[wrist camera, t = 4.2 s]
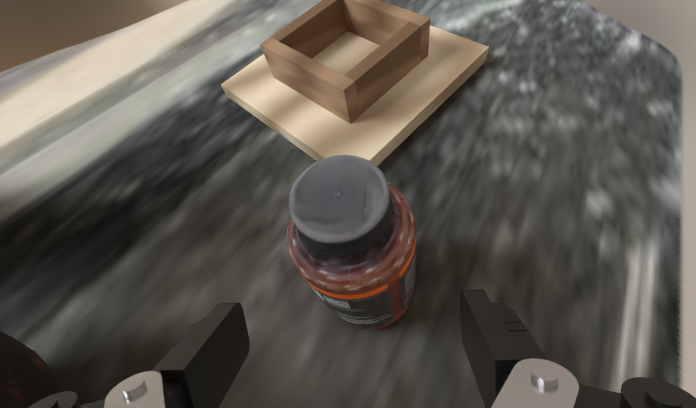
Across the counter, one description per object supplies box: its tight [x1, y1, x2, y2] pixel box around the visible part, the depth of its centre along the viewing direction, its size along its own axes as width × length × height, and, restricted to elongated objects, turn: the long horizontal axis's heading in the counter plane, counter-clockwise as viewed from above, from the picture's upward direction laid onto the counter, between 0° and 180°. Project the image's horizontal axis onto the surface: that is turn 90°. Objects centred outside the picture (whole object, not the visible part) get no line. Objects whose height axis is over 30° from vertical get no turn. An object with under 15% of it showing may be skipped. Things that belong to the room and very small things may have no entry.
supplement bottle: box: [287, 155, 416, 330], centre depth 18 cm, size 6×6×11 cm
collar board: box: [221, 0, 489, 166], centre depth 31 cm, size 18×18×5 cm
